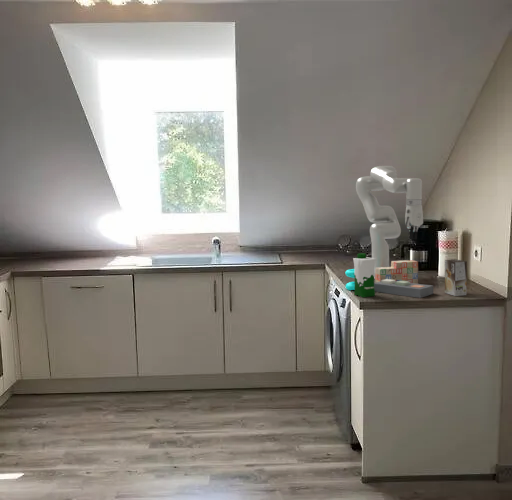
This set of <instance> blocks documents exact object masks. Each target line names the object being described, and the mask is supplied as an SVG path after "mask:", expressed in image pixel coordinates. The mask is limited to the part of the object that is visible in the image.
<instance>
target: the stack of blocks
mask: <svg viewBox="0 0 512 500" xmlns="http://www.w3.org/2000/svg"><path fill="white" fill-rule="evenodd" d="M418 278H419V261H416V260H413V259H412V260H411V259H410V260H408V259H406V260H405V259H404V260H391V263H390V266H389V267H380V268H375V279H374V283H376V282H381V280H385V279H391V280H395V281H408V282H410V283H415V284H419V279H418Z"/></svg>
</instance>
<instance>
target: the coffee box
mask: <svg viewBox="0 0 512 500" xmlns="http://www.w3.org/2000/svg"><path fill="white" fill-rule="evenodd" d="M467 266H468V262H467V261H466V260H461V259H457V258H456V259H455V258H454V259H444V293H445V294H448V295H451V296H453V297H454V296H455V297H460V296H461V297H462V296H467V281H468V280H467V279H468V278H467V277H468V276H467V274H468V273H467V272H468V267H467Z"/></svg>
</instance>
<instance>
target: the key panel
mask: <svg viewBox="0 0 512 500" xmlns="http://www.w3.org/2000/svg"><path fill="white" fill-rule="evenodd" d="M395 282H397V281H395ZM413 285H421V286H424V287H421V288H417V287H410V286H413ZM374 289H375V293H382V294H383V293H384V294H389V295H395V296H396V295H398V296H405V297H412V298H418V299H419V298H420V299H421V298H425V297H427V296H431V295H434V285H431V284H421V283H418V284H415V283H410V285H406V286H401V285H395V283H393V284H385V283H381V282H376V283H375V282H374Z"/></svg>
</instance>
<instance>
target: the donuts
mask: <svg viewBox="0 0 512 500" xmlns="http://www.w3.org/2000/svg"><path fill="white" fill-rule="evenodd" d="M345 276H346V277H348V278H351V279H355V269H354V268H351V269H346V271H345ZM345 289H346V290H347V291H351V290H355V281H350V282H348V283H346V284H345Z"/></svg>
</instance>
